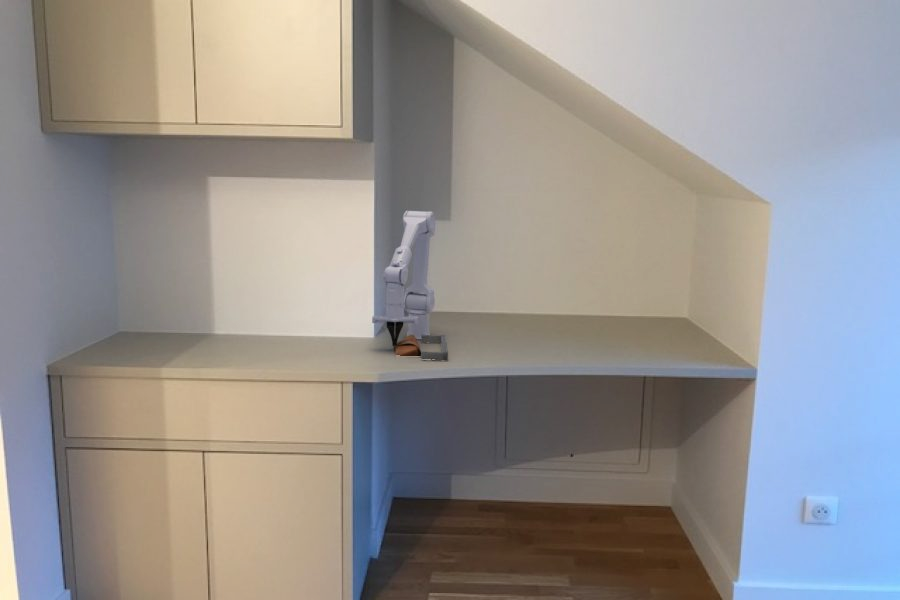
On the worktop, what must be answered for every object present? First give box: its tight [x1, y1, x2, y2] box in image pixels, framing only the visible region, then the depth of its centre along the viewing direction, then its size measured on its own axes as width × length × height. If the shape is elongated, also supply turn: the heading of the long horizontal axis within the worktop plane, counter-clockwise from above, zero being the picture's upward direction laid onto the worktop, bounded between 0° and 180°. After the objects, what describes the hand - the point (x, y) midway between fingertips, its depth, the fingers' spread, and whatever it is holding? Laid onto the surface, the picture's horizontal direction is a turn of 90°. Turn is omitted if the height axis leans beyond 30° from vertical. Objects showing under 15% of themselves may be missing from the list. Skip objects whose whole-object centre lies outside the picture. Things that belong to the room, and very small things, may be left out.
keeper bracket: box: [420, 334, 449, 360], centre depth 229 cm, size 24×8×2 cm, turn 3°
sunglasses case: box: [393, 334, 422, 357], centre depth 228 cm, size 18×7×7 cm
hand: (394, 344), depth 228 cm, fingers closed
